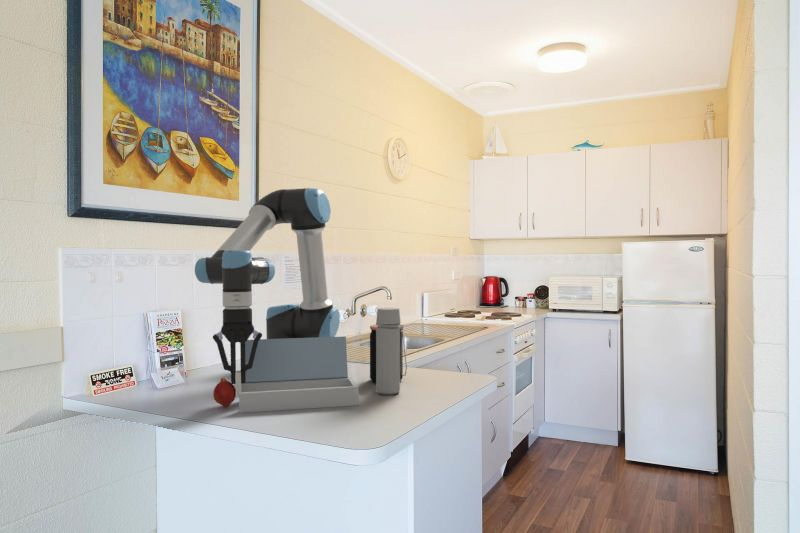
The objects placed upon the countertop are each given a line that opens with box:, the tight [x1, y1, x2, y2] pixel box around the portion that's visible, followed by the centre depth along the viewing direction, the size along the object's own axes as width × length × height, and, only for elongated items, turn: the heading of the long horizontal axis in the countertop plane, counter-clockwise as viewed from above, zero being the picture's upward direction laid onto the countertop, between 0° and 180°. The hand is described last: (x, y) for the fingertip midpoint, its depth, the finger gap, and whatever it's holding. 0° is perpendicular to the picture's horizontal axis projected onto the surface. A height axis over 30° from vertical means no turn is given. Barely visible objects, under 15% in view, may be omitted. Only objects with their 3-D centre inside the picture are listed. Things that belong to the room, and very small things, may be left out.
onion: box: [212, 377, 237, 408], centre depth 149 cm, size 6×6×8 cm
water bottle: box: [375, 307, 408, 396], centre depth 165 cm, size 9×8×25 cm
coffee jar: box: [369, 324, 404, 384], centre depth 181 cm, size 11×11×18 cm
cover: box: [245, 336, 349, 383], centre depth 161 cm, size 1×30×13 cm, turn 104°
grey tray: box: [238, 377, 360, 414], centre depth 153 cm, size 12×31×5 cm, turn 104°
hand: (238, 395), depth 149 cm, fingers closed
